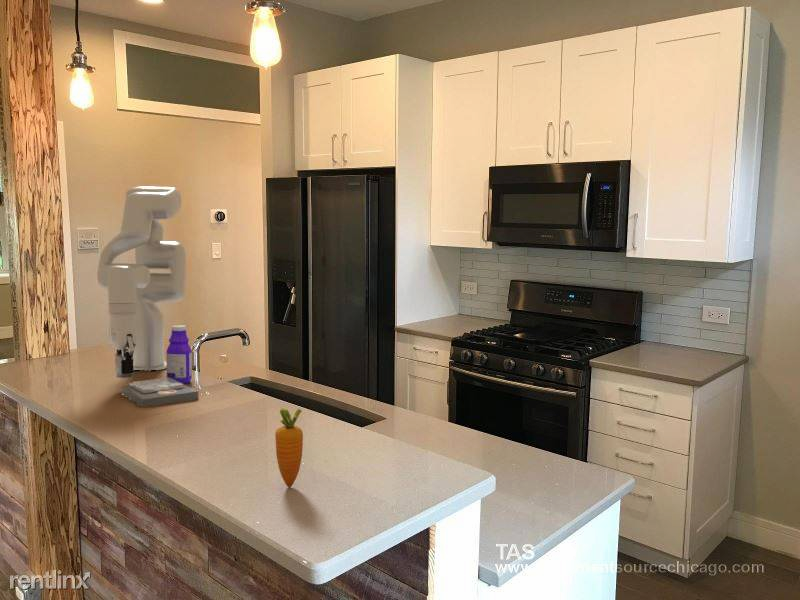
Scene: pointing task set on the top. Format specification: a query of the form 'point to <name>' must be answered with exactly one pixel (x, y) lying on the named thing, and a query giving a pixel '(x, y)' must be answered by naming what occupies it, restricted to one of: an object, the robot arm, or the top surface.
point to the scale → (160, 396)
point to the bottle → (179, 355)
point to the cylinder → (118, 368)
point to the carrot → (289, 447)
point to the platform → (156, 385)
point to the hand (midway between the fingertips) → (124, 371)
